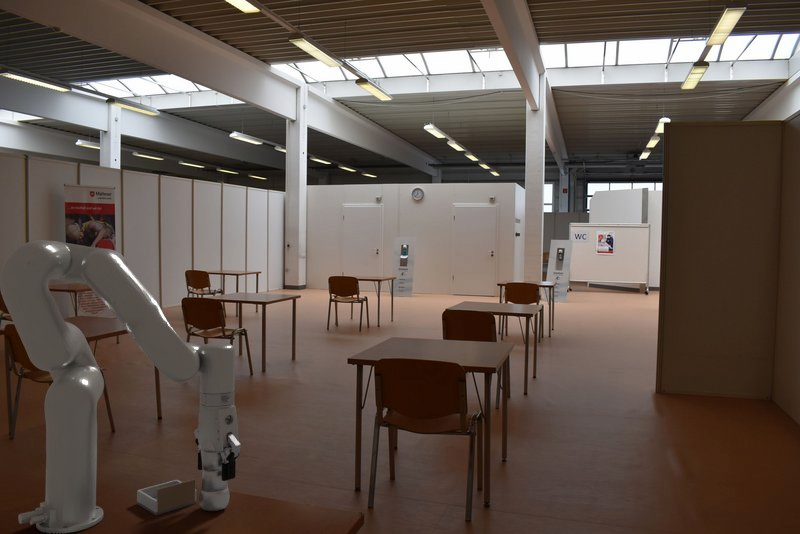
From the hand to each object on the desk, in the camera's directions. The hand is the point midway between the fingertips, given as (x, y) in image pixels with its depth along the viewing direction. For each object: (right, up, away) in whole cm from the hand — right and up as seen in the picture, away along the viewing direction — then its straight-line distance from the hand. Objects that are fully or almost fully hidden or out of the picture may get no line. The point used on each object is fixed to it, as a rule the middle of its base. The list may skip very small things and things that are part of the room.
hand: (216, 473), depth 140 cm
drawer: (-12, -8, +2) cm, 14 cm away
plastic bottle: (-1, -8, 0) cm, 8 cm away
